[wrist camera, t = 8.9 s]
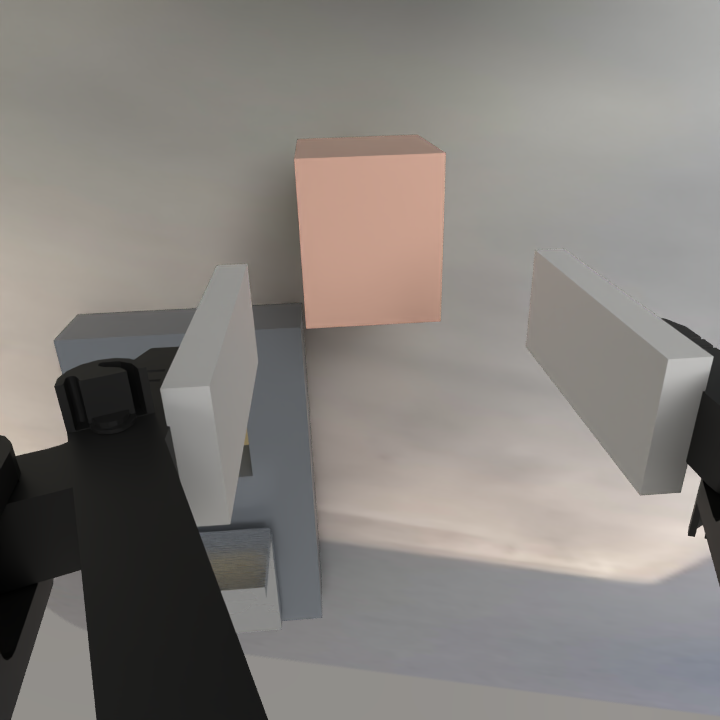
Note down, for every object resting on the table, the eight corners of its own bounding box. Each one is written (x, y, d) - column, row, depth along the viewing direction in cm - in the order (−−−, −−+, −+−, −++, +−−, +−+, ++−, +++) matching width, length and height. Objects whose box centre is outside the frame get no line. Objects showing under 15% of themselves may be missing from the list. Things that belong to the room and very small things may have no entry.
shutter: (146, 526, 35) (120, 598, 30) (270, 518, 35) (264, 587, 31) (169, 628, 38) (149, 706, 34) (282, 619, 39) (278, 695, 34)
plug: (299, 127, 30) (294, 158, 20) (401, 124, 30) (445, 152, 20) (306, 248, 33) (306, 328, 23) (401, 244, 33) (440, 321, 23)
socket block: (77, 314, 33) (53, 340, 30) (301, 302, 34) (300, 327, 31) (144, 590, 42) (130, 632, 39) (321, 576, 43) (322, 617, 39)
